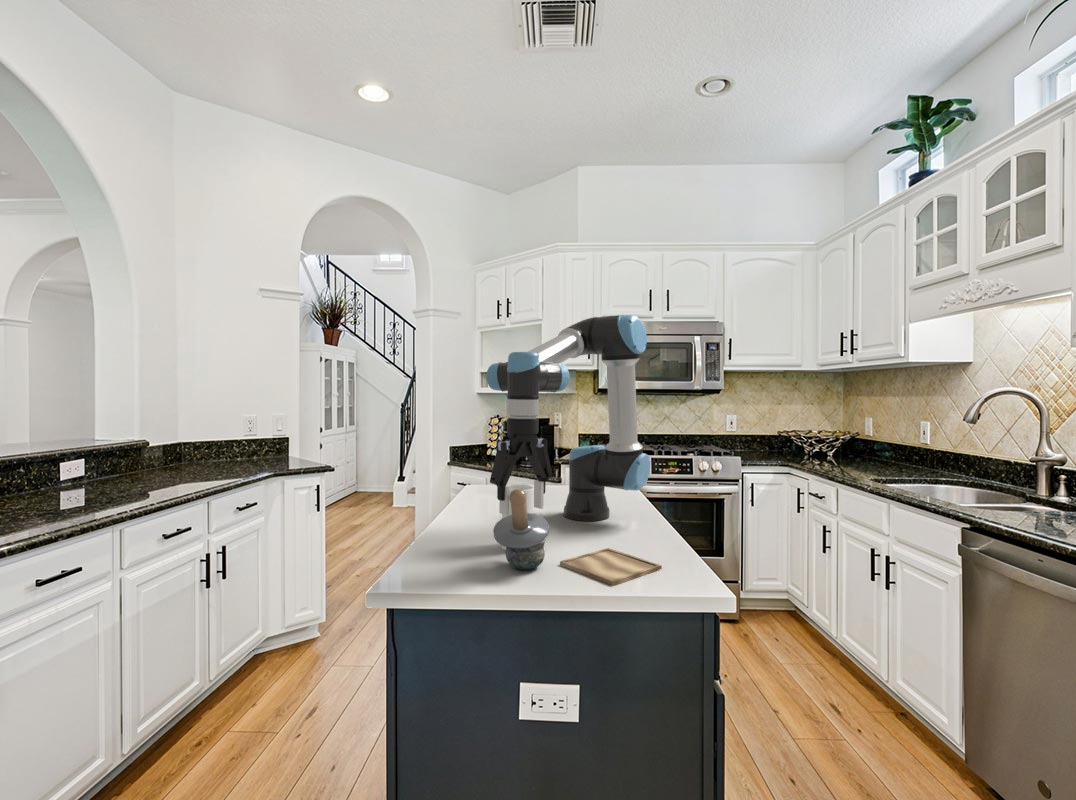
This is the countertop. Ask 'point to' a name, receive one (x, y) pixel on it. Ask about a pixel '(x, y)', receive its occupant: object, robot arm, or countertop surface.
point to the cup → (529, 501)
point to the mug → (526, 556)
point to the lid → (520, 525)
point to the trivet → (610, 566)
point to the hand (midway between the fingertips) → (521, 510)
